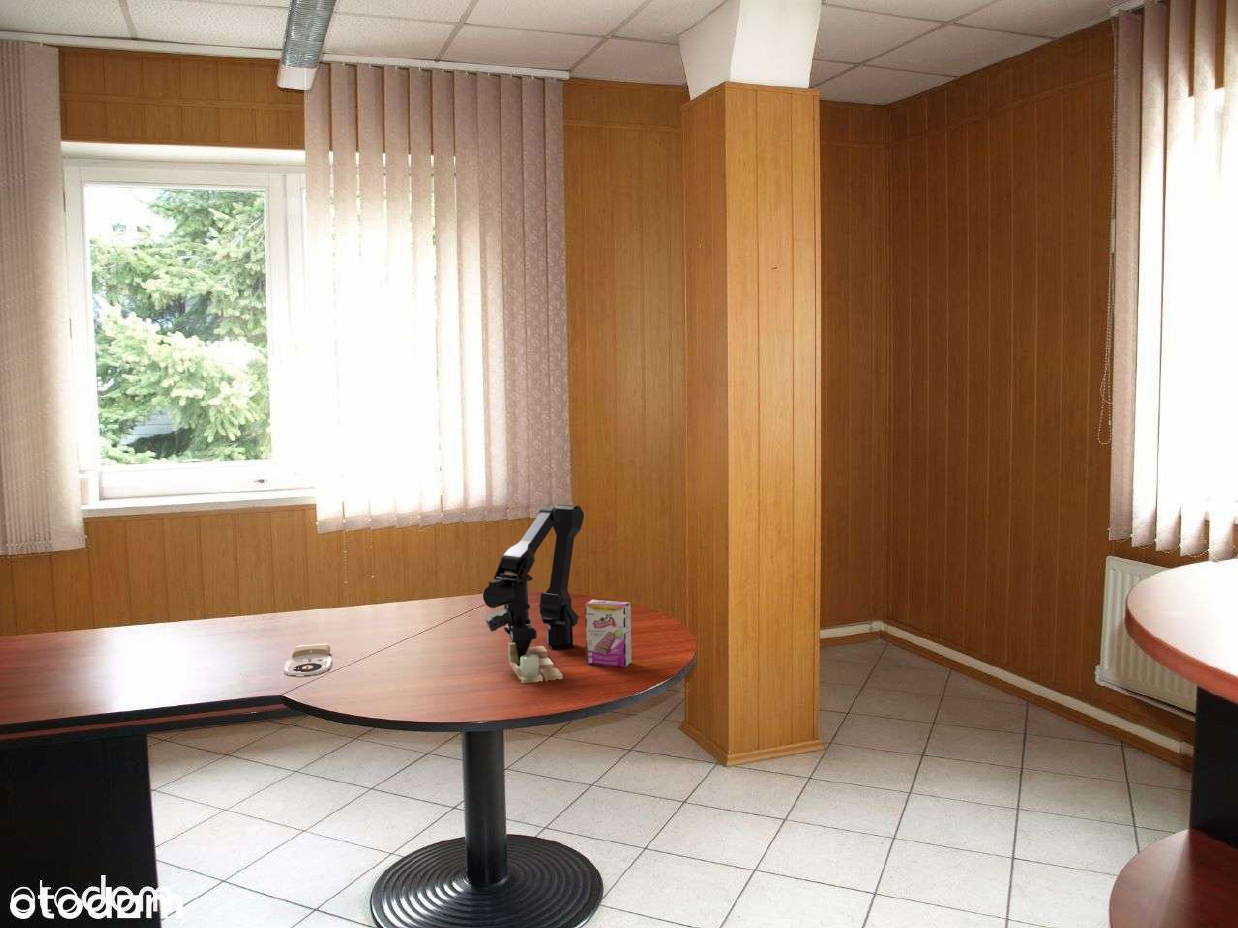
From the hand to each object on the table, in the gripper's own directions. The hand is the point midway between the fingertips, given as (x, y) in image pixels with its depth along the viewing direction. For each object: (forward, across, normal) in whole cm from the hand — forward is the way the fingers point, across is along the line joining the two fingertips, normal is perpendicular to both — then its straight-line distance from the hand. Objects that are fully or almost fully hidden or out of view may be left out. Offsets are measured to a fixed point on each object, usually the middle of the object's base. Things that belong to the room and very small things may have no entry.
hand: (519, 657), depth 277 cm
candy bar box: (+2, +9, +22) cm, 24 cm away
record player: (+2, -18, -53) cm, 56 cm away
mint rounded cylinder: (0, +14, 0) cm, 14 cm away
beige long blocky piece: (+1, +8, 0) cm, 8 cm away
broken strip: (+1, +6, +5) cm, 8 cm away
